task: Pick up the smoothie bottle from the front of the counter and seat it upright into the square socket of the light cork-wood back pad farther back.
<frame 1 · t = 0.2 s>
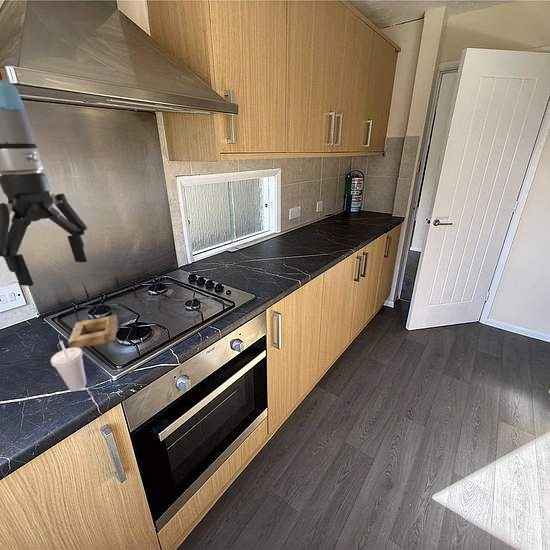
hand: (56, 272, 66), 30 cm above the worktop, tool pointing down, fingers open, 13 cm apart
smoothie: (78, 386, 74), on the worktop
pad socket: (96, 335, 95), on the worktop
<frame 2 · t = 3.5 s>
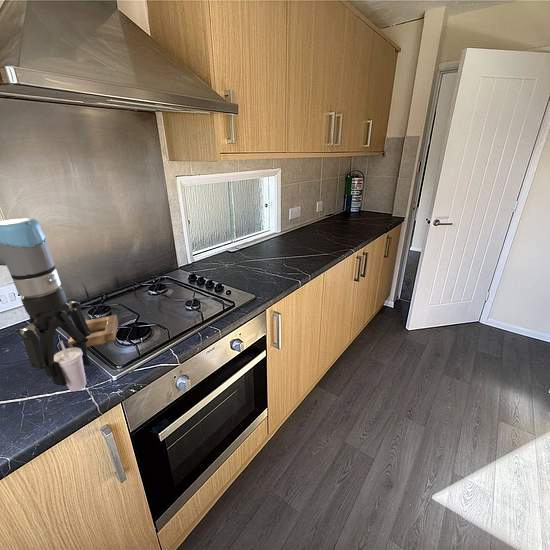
hand: (73, 373, 73), 4 cm above the worktop, tool pointing down, fingers closed on smoothie, 6 cm apart
smoothie: (78, 386, 74), on the worktop, touching gripper
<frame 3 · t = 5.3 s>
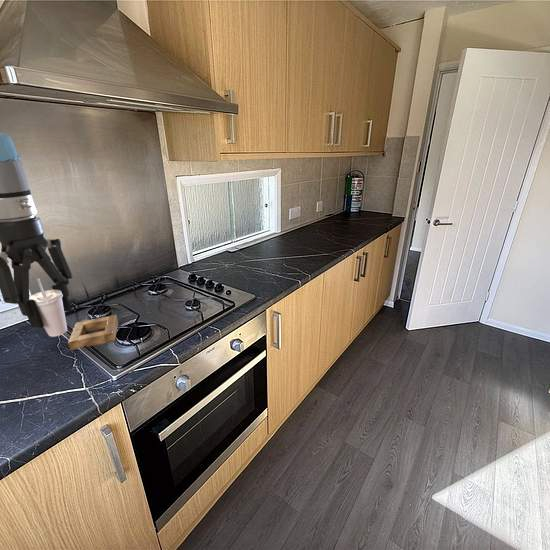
hand: (52, 317, 67), 20 cm above the worktop, tool pointing down, fingers closed on smoothie, 6 cm apart
smoothie: (58, 332, 69), point 16 cm above the worktop, touching gripper
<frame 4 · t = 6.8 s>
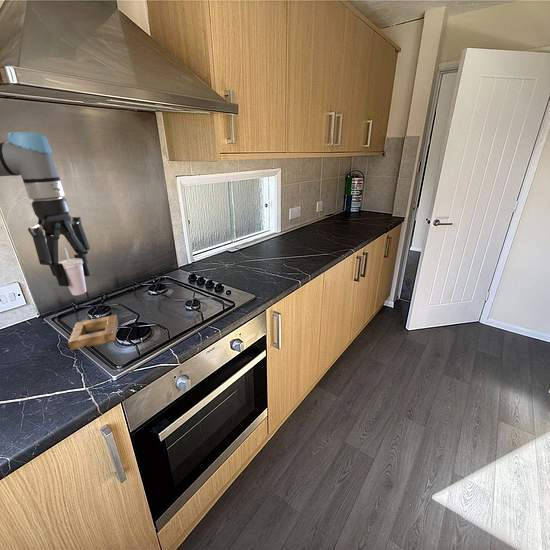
hand: (75, 280, 84), 21 cm above the worktop, tool pointing down, fingers closed on smoothie, 6 cm apart
smoothie: (79, 293, 86), point 17 cm above the worktop, touching gripper
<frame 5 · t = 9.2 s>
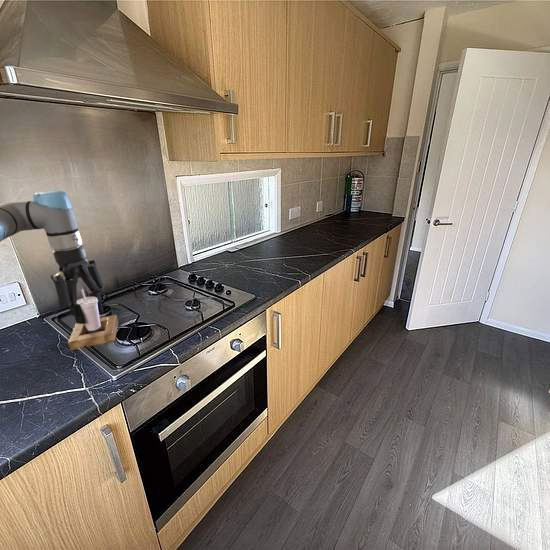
hand: (90, 317, 92), 7 cm above the worktop, tool pointing down, fingers closed on smoothie, 6 cm apart
smoothie: (94, 328, 94), point 3 cm above the worktop, touching gripper
when the fingers open (4 cm above the worktop, at t = 10.5 s): smoothie stays where it is, resting in pad socket.
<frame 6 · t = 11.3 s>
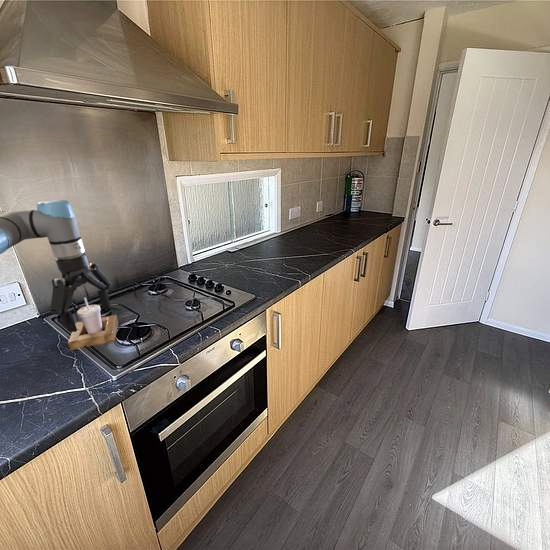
hand: (90, 318, 93), 6 cm above the worktop, tool pointing down, fingers open, 13 cm apart
smoothie: (96, 335, 95), resting in pad socket
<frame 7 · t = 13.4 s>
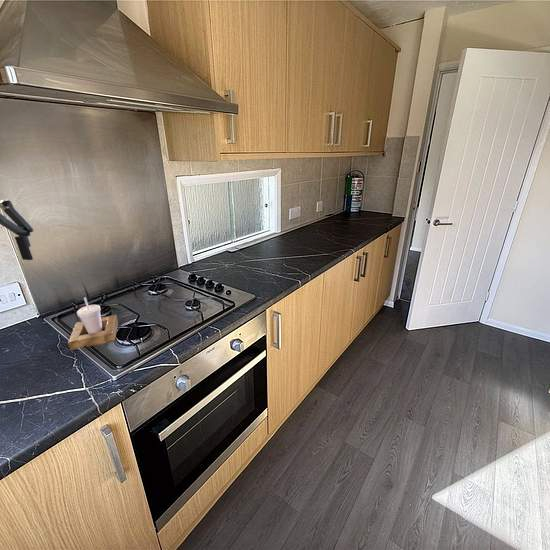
hand: (2, 268, 76), 28 cm above the worktop, tool pointing down, fingers open, 13 cm apart
nothing on the worktop moved.
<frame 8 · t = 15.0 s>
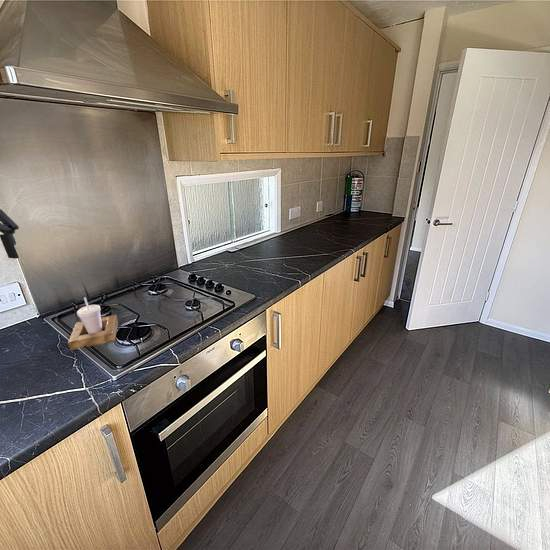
nothing on the worktop moved.
at the end: smoothie 0.1 cm off-centre in the pad socket, point 0.0 cm above the pad socket's base; smoothie tilted 0° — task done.
